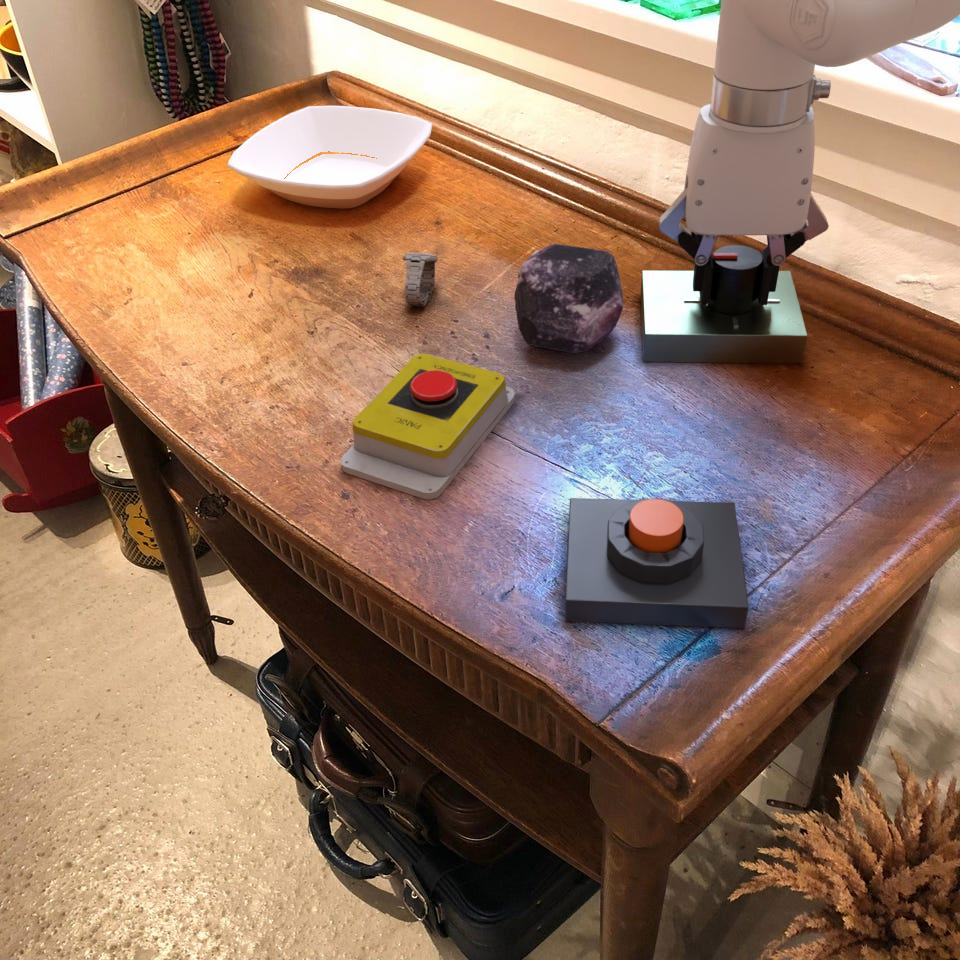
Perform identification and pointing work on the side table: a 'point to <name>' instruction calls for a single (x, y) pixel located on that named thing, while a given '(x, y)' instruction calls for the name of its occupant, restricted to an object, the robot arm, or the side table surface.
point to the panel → (718, 324)
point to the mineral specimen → (568, 297)
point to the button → (656, 526)
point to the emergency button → (426, 425)
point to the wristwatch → (419, 278)
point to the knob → (735, 279)
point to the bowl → (331, 174)
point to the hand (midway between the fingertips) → (732, 295)
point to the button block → (655, 568)
